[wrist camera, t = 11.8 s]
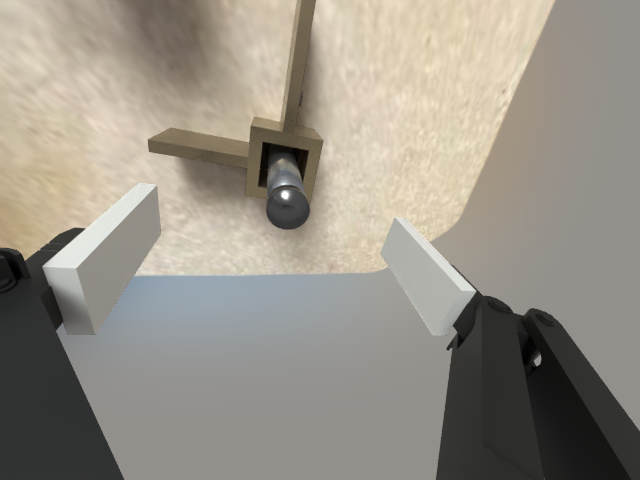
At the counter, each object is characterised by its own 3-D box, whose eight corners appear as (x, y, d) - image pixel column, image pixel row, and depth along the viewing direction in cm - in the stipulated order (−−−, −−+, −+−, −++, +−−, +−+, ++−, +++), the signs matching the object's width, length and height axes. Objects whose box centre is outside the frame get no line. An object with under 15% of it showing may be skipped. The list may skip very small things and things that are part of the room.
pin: (266, 163, 30) (264, 226, 18) (270, 138, 29) (269, 187, 16) (291, 168, 31) (305, 231, 18) (295, 143, 29) (313, 193, 17)
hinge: (172, 163, 28) (151, 182, 23) (161, -44, 21) (126, -83, 16) (303, 184, 32) (309, 204, 27) (336, 14, 24) (354, -2, 19)
